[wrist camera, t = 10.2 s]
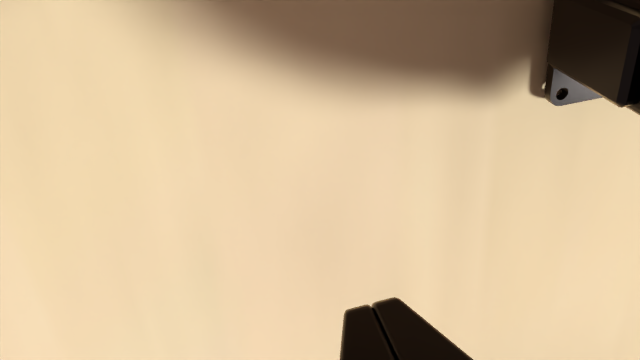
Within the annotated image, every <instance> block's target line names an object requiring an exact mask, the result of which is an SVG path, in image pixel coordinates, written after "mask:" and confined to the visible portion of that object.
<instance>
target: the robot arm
mask: <svg viewBox="0 0 640 360" xmlns="http://www.w3.org/2000/svg"><path fill="white" fill-rule="evenodd" d="M547 62H548V69H547V77H546V85H545V98H546V99H547V100H548V101H549V102H550V103H552V104H554V105H556V106H562V105H567V104H572V103H577V102H582V101H587V100H592V99H597V98H602V97H603V98H605V99H607V100H608V101H610V102H612V103H613V104H615V105H617V106H618V107H627V108H629V109H630V110H632V111H634V112H635V113H637V114H639V115H640V0H555V1H554V9H553V16H552V24H551V32H550V40H549V48H548V56H547ZM561 88H562V91H561V93H560V94H559V95H557V96H556V94H557V92H558V91H559V90H560V89H561ZM340 360H473V359H472V358H471V357H469V356H468V355H467V354H466V353H465V352H463V351H462V350H461V349H460V348H458V347H457V346H456V345H455V344H454V343H452V342H451V341H450V340H449V339H448V338H446V337H445V336H444V335H443V334H441V333H440V332H439V331H438V330H437V329H435V328H434V327H433V326H432V325H430V324H429V323H428V322H427V321H426V320H424V319H423V318H422V317H421V316H420V315H418V314H417V313H416V312H415V311H413V310H412V309H411V308H410V307H409V306H407V305H406V304H405V303H404V302H403V301H401V300H400V299H398V298H395V297H394V298H389V299H385V300H382V301H378V302H375V303H373V304H372V307H371V306H370V305H363V306H359V307H355V308H351V309H348V310H346V311H345V313H344V320H343V331H342V341H341V351H340Z"/></svg>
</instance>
